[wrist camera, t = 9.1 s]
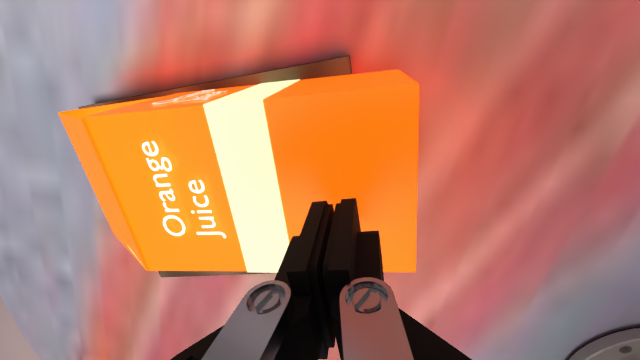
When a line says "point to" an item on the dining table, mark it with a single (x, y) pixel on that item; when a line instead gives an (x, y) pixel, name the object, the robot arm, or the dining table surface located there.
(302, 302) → the robot arm
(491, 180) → the dining table surface
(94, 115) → the orange juice
